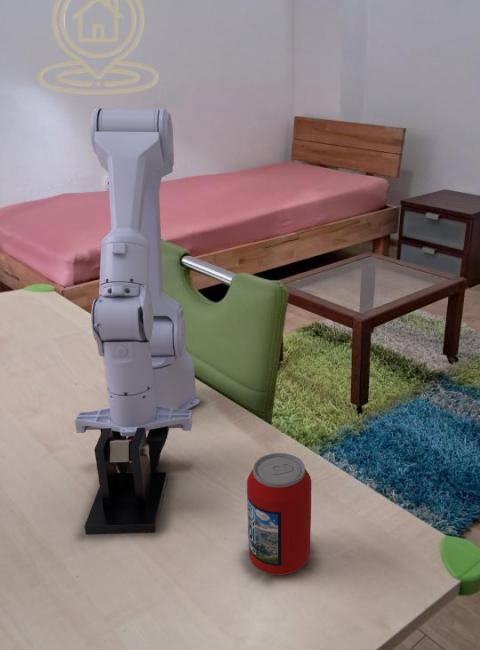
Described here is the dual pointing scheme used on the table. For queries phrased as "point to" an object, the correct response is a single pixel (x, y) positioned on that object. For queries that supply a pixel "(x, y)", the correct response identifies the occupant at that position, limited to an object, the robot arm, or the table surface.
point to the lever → (121, 450)
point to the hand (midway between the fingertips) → (140, 474)
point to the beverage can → (279, 513)
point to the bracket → (126, 490)
